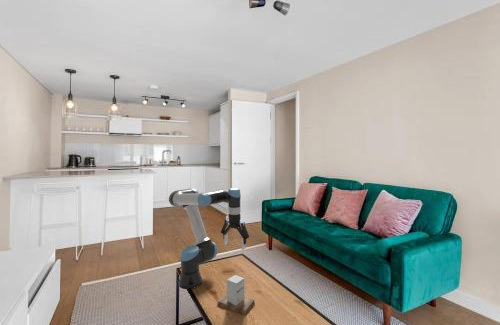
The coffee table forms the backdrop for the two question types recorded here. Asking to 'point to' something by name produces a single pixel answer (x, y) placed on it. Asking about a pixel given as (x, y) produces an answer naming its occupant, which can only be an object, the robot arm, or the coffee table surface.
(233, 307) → the walnut board
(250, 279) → the coffee table surface
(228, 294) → the supplement box
